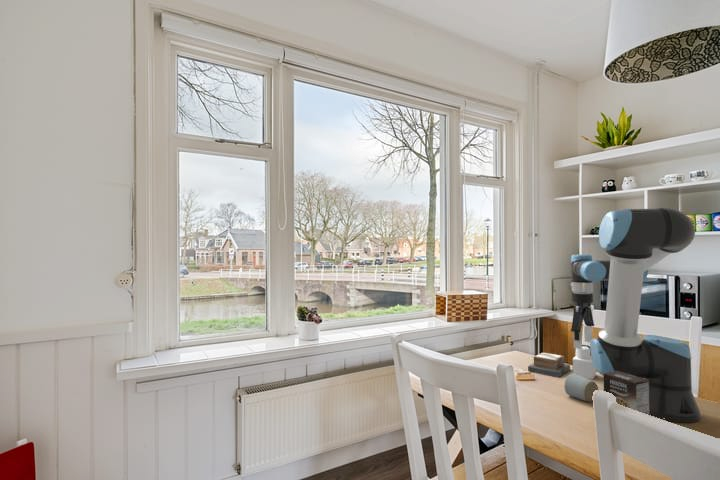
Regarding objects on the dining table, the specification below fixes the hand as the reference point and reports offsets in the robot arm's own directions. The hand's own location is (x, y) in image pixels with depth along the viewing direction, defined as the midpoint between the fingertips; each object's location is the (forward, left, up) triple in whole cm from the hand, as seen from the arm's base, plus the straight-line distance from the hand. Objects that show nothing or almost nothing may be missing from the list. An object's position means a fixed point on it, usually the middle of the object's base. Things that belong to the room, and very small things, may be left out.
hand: (583, 345), depth 163 cm
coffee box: (-47, -24, -12) cm, 55 cm away
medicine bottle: (0, 0, -12) cm, 12 cm away
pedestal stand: (-2, +13, -12) cm, 18 cm away
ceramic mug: (-26, -7, -13) cm, 30 cm away
